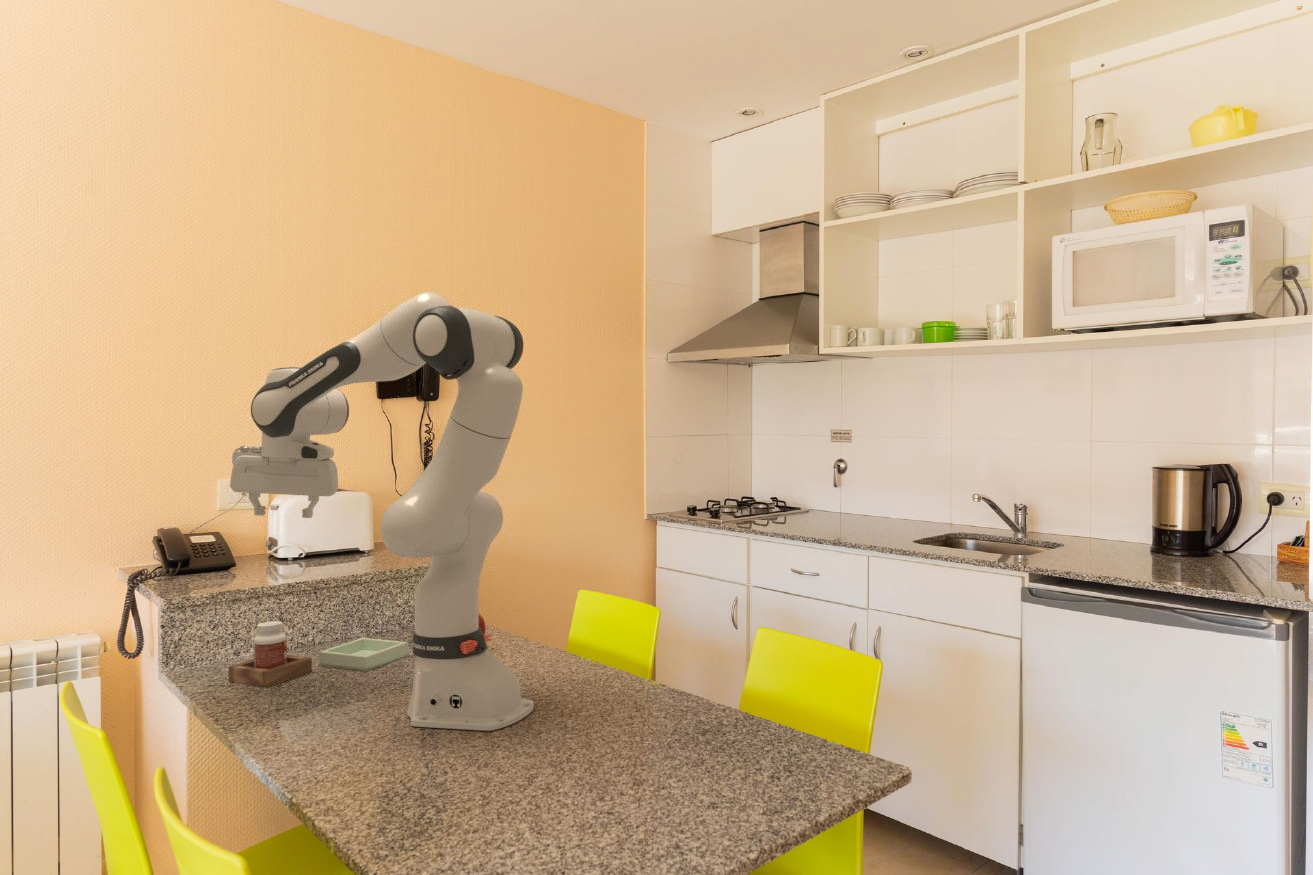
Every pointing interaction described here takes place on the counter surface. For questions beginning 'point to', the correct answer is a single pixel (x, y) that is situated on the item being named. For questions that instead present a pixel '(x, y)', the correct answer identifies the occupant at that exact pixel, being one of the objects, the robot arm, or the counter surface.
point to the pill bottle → (270, 646)
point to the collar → (270, 672)
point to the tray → (363, 654)
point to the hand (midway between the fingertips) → (283, 516)
